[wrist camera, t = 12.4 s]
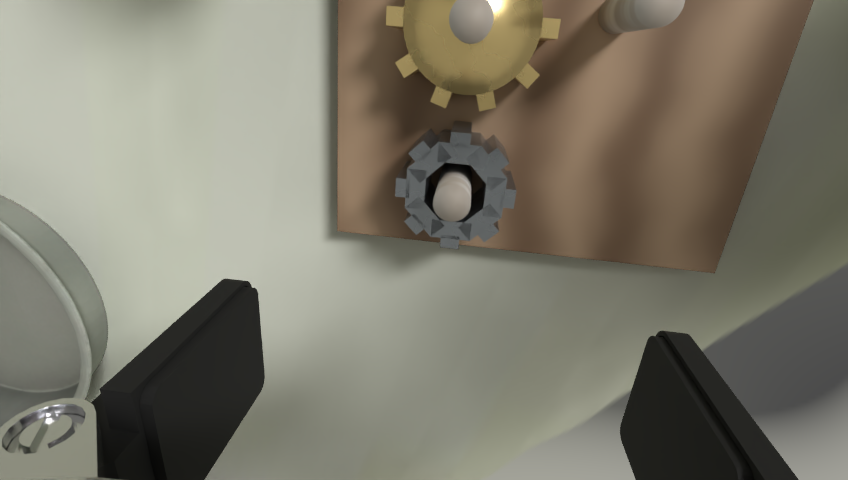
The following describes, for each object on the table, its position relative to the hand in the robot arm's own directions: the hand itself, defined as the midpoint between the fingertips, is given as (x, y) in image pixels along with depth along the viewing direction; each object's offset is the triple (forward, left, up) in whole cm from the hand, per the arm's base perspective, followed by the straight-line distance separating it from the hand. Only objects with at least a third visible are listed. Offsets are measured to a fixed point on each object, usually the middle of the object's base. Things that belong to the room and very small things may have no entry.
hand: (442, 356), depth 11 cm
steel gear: (0, +1, -20) cm, 20 cm away
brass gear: (0, -8, -20) cm, 22 cm away
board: (-5, -4, -22) cm, 23 cm away
